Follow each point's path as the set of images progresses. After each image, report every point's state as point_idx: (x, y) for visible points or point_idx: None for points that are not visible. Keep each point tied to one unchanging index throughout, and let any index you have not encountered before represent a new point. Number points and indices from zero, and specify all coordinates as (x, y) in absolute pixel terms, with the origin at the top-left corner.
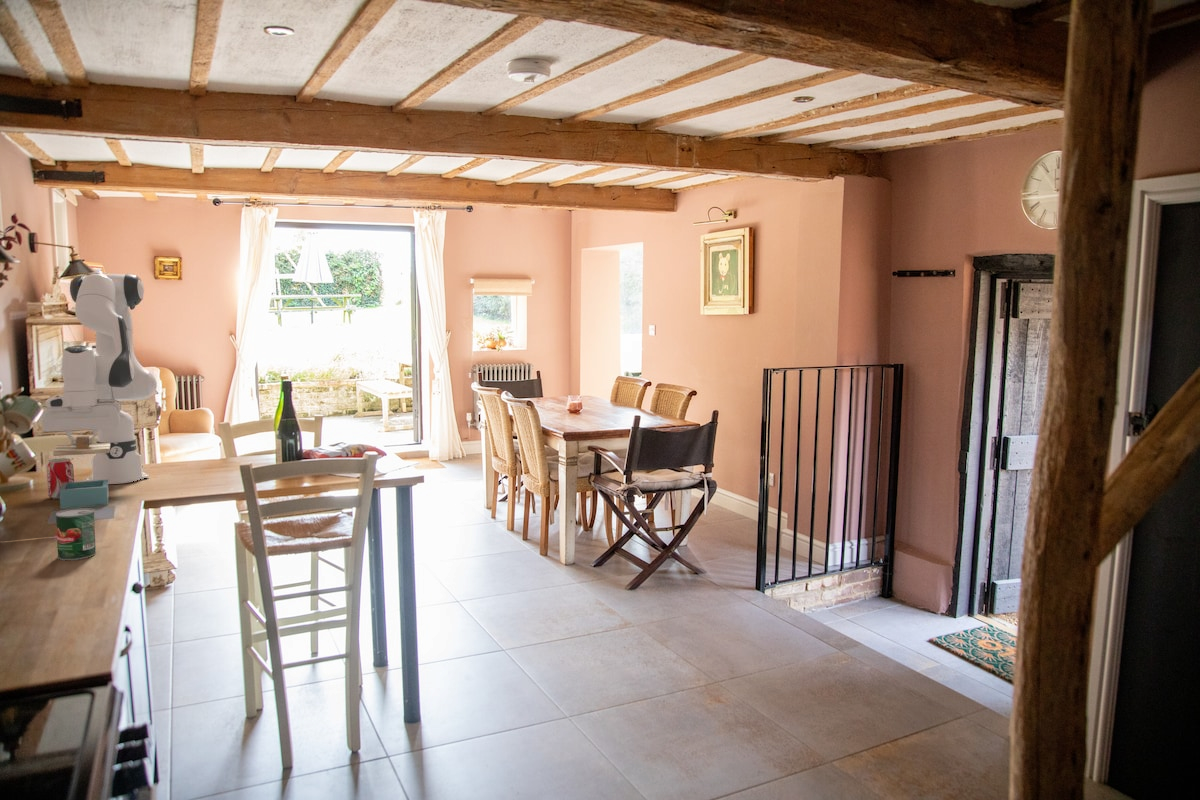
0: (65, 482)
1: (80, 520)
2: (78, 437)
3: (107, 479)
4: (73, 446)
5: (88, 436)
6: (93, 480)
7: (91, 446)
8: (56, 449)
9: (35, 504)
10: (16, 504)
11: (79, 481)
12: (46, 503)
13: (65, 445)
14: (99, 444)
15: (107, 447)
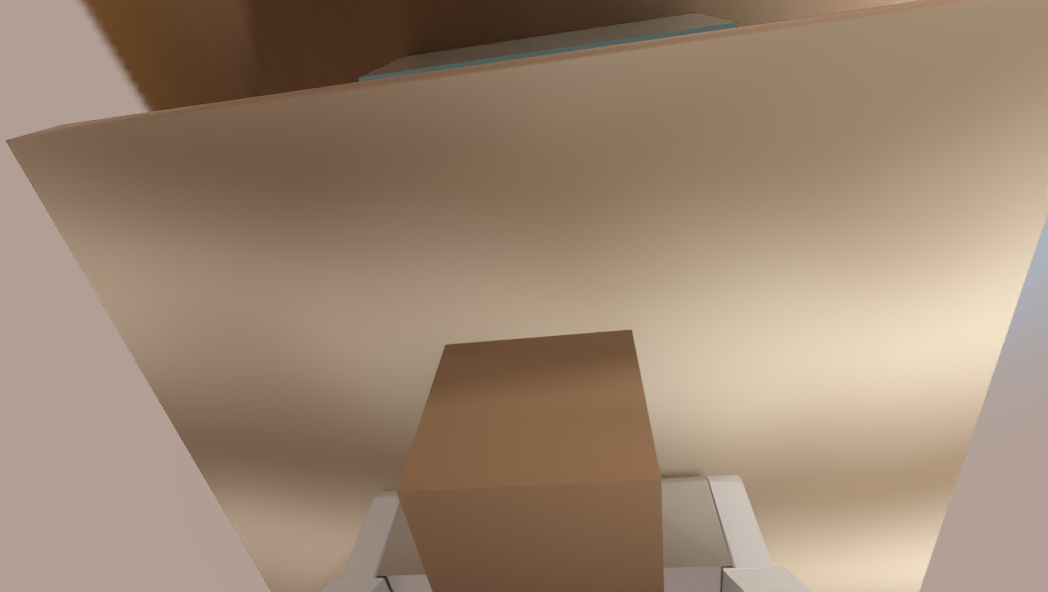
0: (379, 76)
1: None
2: (463, 590)
3: (731, 25)
4: (379, 343)
5: (658, 519)
6: (606, 45)
7: (676, 414)
8: (250, 526)
9: (254, 95)
10: (129, 57)
11: (489, 60)
12: (311, 83)
13: (176, 188)
14: (822, 223)
15: (905, 547)
